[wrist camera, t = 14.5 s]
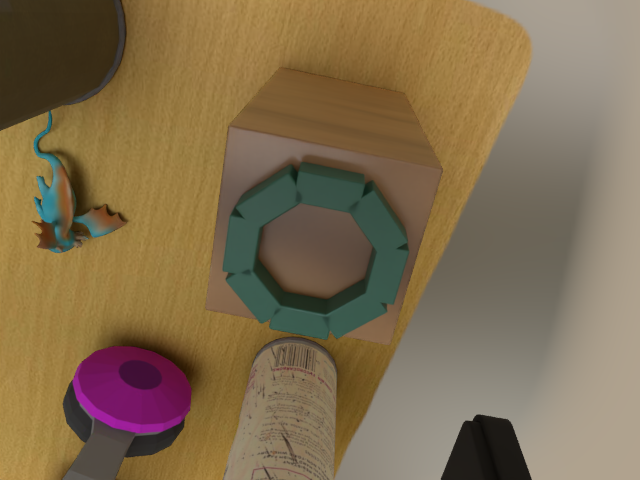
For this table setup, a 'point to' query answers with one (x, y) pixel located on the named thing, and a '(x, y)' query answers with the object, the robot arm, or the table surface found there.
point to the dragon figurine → (65, 209)
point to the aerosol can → (287, 415)
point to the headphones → (123, 408)
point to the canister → (56, 53)
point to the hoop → (325, 192)
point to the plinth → (331, 151)
